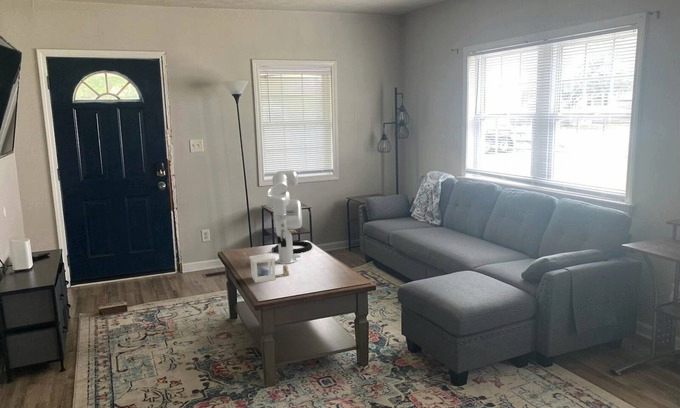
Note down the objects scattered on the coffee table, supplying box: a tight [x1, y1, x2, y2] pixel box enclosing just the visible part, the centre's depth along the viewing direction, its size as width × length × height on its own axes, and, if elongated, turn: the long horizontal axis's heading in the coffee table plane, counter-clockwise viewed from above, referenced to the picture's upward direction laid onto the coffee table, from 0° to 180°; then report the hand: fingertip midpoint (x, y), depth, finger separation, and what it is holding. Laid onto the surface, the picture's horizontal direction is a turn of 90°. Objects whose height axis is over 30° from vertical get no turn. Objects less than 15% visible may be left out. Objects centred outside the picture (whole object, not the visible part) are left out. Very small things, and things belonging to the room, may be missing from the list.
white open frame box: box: [249, 253, 277, 284], centre depth 313 cm, size 13×13×13 cm
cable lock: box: [271, 240, 313, 254], centre depth 381 cm, size 28×4×30 cm
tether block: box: [257, 264, 290, 278], centre depth 316 cm, size 19×6×6 cm, turn 110°
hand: (281, 245), depth 316 cm, fingers open, 9 cm apart
